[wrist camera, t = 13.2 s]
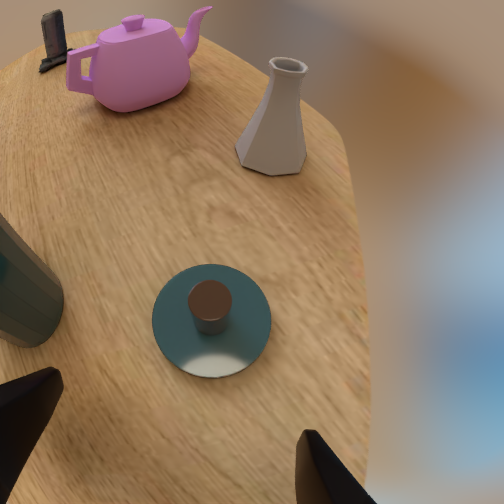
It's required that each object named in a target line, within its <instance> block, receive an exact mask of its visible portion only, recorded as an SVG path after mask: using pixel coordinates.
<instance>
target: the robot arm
mask: <svg viewBox="0 0 504 504" xmlns="http://www.w3.org/2000/svg"><path fill="white" fill-rule="evenodd" d="M63 389H64V385H63V381H62V377H61V373H60V371H59V370H58V369H56V368H54V367H47V368H45V369H42V370H39V371H37V372H34V373H31V374H28V375H26V376H23V377H20V378H18V379H15V380H12V381H9V382H6V383H4V384H1V385H0V504H6V502H7V500H8V498H9V496H10V493H11V491H12V489H13V487H14V485H15V483H16V481H17V479H18V477H19V475H20V473H21V471H22V469H23V467H24V465H25V463H26V462H27V460H28V458H29V456H30V454H31V452H32V450H33V449H34V447H35V445H36V443H37V441H38V440H39V438H40V436H41V434H42V433H43V431H44V429H45V427H46V426H47V424H48V422H49V420H50V418H51V416H52V414H53V412H54V410H55V407H56V405H57V403H58V401H59V399H60V396H61V394H62V392H63ZM295 490H296V501H297V504H377V503H376V502H375V501H374V500H373V499H372V498H371V497H370V495H368V494H367V492H366V491H365V490H364V488H363V487H362V486H361V485H360V484H359V483H358V481H357V480H356V479H355V478H354V477H353V475H352V474H351V473H350V472H349V471H348V469H347V468H346V467H345V466H344V465H343V463H342V462H341V461H340V460H339V458H338V457H337V456H336V455H335V453H334V452H333V451H332V450H331V448H330V447H329V446H328V445H327V443H326V442H325V441H324V440H323V438H322V437H321V436H320V434H319V433H318V432H317V431H316V430H310V429H305V430H304V431H303V432H302V434H301V436H300V438H299V440H298V442H297V446H296V468H295Z"/></svg>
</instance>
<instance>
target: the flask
mask: <svg viewBox="0 0 504 504" xmlns="http://www.w3.org/2000/svg"><path fill="white" fill-rule="evenodd" d="M269 68H270V69H271V74H270V79H269V84H268V86H267V89H266V91H265V94H264V96H263V99H262V101H261V102H260V104H259V106H258V108H257V109H256V111H255V113H254V114H253V116H252V118H251V120H250V121H249V123H248V125H247V126H246V128H245V129H244V131H243V133H242V134H241V136H240V138H239V139H238V141H237V143H236V145H235V148H236V151H237V154H238V156H239V159H240V162H241V165H242V166H245V167H248V168H251V169H254V170H257V171H259V172H262V173H265V174H268V175H270V176H271V175H280V174H290V173H299V172H300V170H301V167H302V165H303V163H304V160H305V158H306V156H307V154H306V146H305V139H304V133H303V127H302V119H301V111H300V87H301V83H302V78H304V76H305V75H306V73H307V72H308V69H309V68H308V67H307V66H306V65H305V64H304V63H303V62H301V61H298V60H295V59H291V58H283V57H274V58H272V59H271V60H270V61H269Z"/></svg>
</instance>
